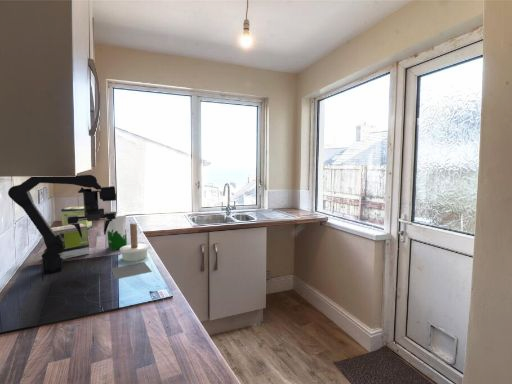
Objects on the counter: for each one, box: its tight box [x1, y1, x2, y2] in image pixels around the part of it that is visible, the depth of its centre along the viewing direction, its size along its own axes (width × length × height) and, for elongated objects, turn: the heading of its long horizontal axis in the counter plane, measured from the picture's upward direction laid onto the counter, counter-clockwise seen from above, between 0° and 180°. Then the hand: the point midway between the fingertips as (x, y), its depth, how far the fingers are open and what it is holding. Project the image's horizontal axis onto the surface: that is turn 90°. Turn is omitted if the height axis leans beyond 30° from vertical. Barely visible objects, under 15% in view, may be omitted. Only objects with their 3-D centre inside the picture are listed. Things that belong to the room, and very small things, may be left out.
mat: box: [110, 261, 153, 280], centre depth 123 cm, size 14×14×1 cm
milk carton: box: [106, 211, 128, 251], centre depth 156 cm, size 9×9×20 cm
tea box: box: [50, 224, 91, 260], centre depth 144 cm, size 15×10×15 cm
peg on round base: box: [119, 222, 150, 254], centre depth 139 cm, size 13×13×12 cm
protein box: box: [60, 206, 93, 230], centre depth 200 cm, size 10×16×16 cm
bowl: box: [121, 249, 148, 262], centre depth 140 cm, size 11×11×4 cm
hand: (93, 236), depth 131 cm, fingers open, 9 cm apart
